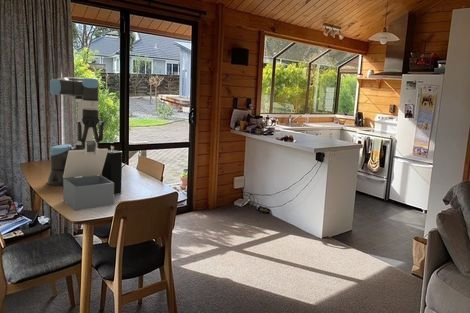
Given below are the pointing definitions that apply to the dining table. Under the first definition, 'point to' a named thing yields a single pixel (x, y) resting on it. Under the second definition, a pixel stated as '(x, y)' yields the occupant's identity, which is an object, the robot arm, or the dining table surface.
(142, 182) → the dining table surface
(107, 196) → the carton
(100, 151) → the lid
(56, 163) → the robot arm
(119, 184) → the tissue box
